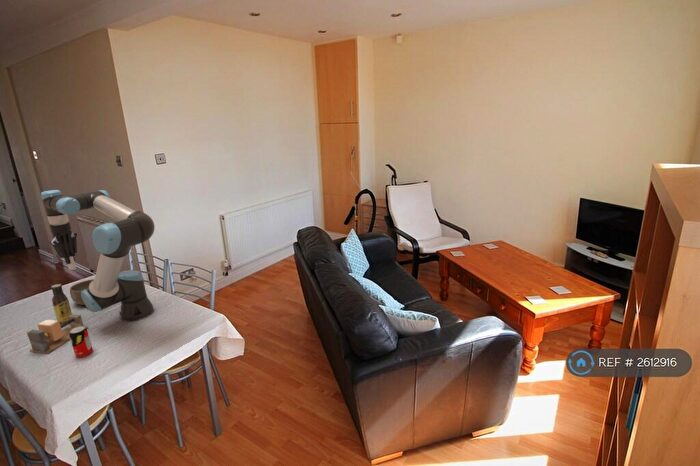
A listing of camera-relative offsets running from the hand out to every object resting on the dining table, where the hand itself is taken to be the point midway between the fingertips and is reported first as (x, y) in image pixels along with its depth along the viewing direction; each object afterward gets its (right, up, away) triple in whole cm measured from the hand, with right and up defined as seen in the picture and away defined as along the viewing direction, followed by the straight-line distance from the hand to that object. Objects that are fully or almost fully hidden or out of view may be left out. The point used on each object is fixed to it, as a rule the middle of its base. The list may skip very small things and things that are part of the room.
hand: (72, 268), depth 179 cm
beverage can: (+22, -34, -22) cm, 47 cm away
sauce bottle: (-5, -27, +3) cm, 28 cm away
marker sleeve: (+3, -29, -15) cm, 33 cm away
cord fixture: (+4, -31, -12) cm, 34 cm away
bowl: (-7, -20, +23) cm, 32 cm away
